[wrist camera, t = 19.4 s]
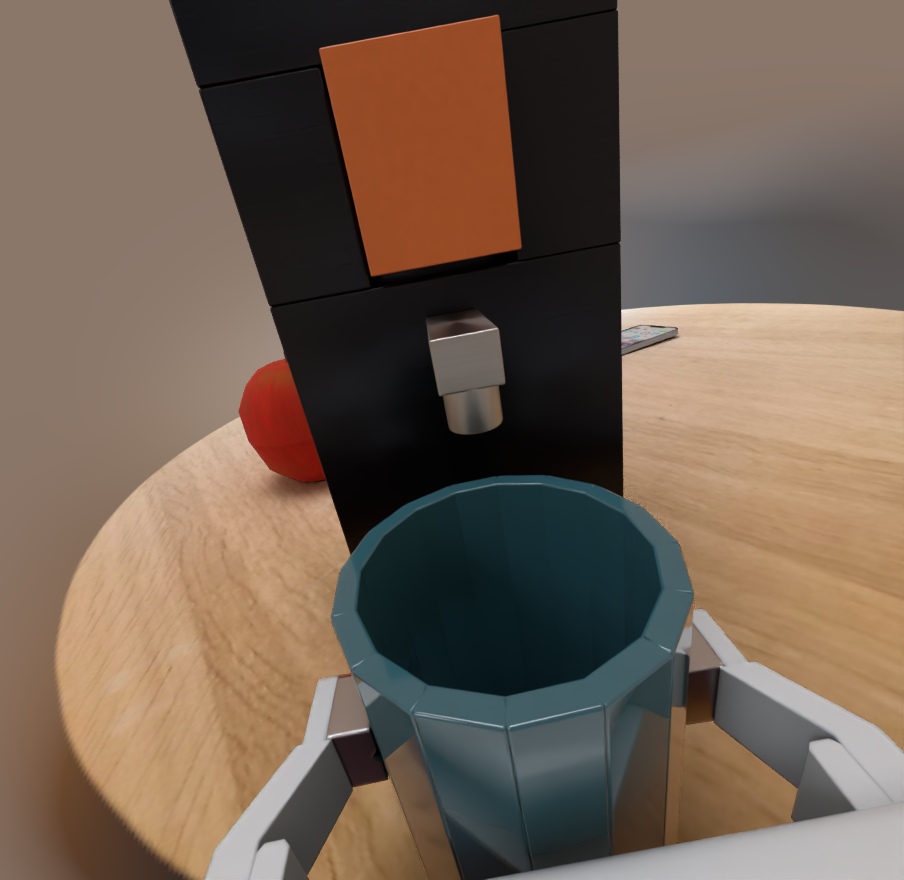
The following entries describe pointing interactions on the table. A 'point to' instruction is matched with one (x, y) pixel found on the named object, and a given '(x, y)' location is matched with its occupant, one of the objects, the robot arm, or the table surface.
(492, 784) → the cup
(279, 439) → the apple
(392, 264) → the button
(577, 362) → the dispenser
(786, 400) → the table surface
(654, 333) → the smartphone
